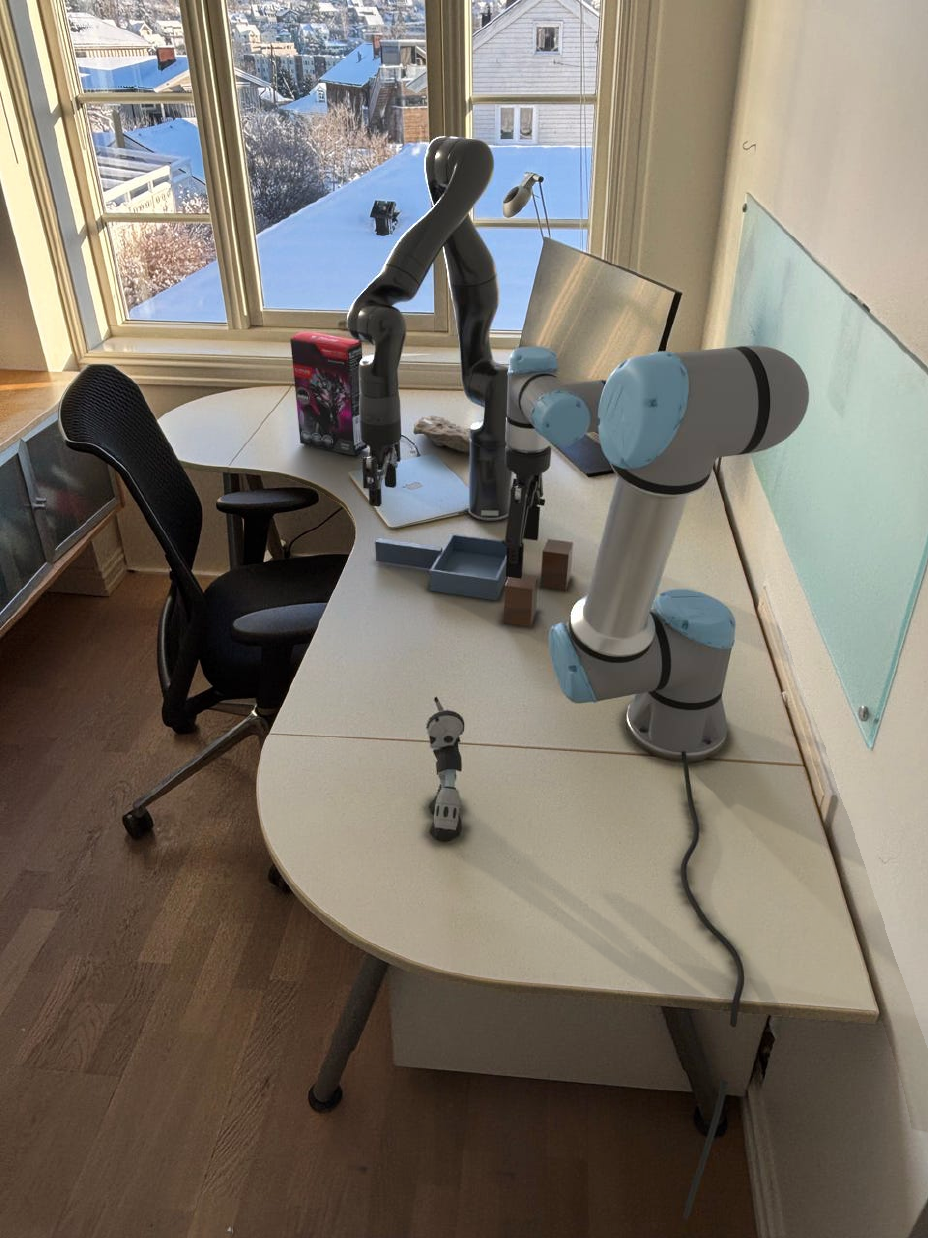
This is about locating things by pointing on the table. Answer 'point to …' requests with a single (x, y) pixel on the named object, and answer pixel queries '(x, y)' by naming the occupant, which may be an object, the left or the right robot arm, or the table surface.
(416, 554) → the tray
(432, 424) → the stone
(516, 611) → the walnut block
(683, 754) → the right robot arm
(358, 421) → the graphics card box
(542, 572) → the walnut block
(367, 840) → the table surface
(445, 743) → the robot
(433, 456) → the table surface
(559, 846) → the table surface
